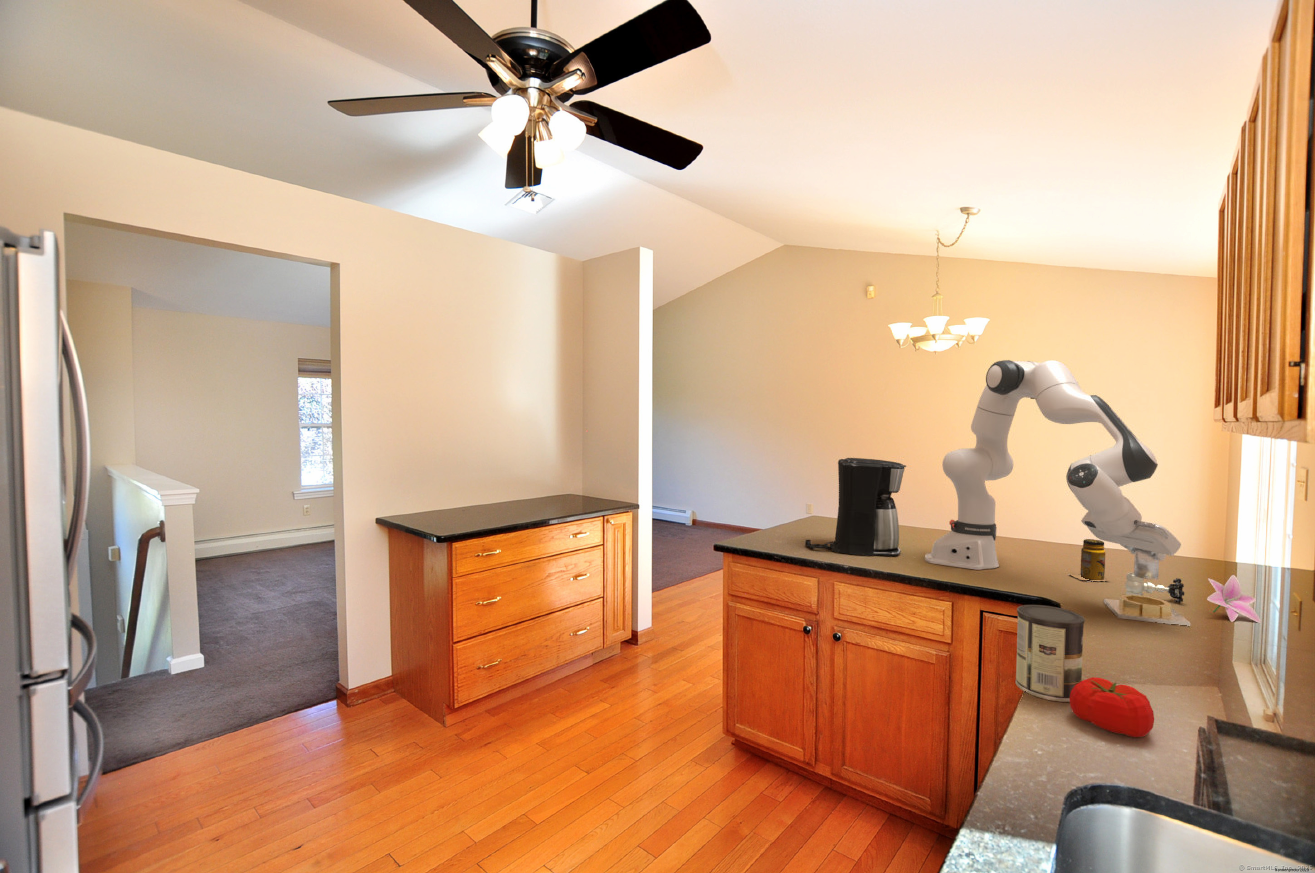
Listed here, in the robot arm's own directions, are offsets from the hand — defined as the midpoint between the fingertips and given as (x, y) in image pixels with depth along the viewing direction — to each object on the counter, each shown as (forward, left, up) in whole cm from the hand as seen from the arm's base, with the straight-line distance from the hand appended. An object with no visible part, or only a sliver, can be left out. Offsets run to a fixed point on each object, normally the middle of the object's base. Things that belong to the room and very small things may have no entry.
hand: (1149, 555), depth 153 cm
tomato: (-24, -72, -15) cm, 78 cm away
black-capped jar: (-1, 0, -5) cm, 5 cm away
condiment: (-6, +34, -15) cm, 37 cm away
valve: (+5, +16, -15) cm, 23 cm away
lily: (+18, +6, -15) cm, 25 cm away
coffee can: (-31, -61, -15) cm, 70 cm away
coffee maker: (-76, +45, -15) cm, 89 cm away
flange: (-1, 0, -15) cm, 15 cm away
